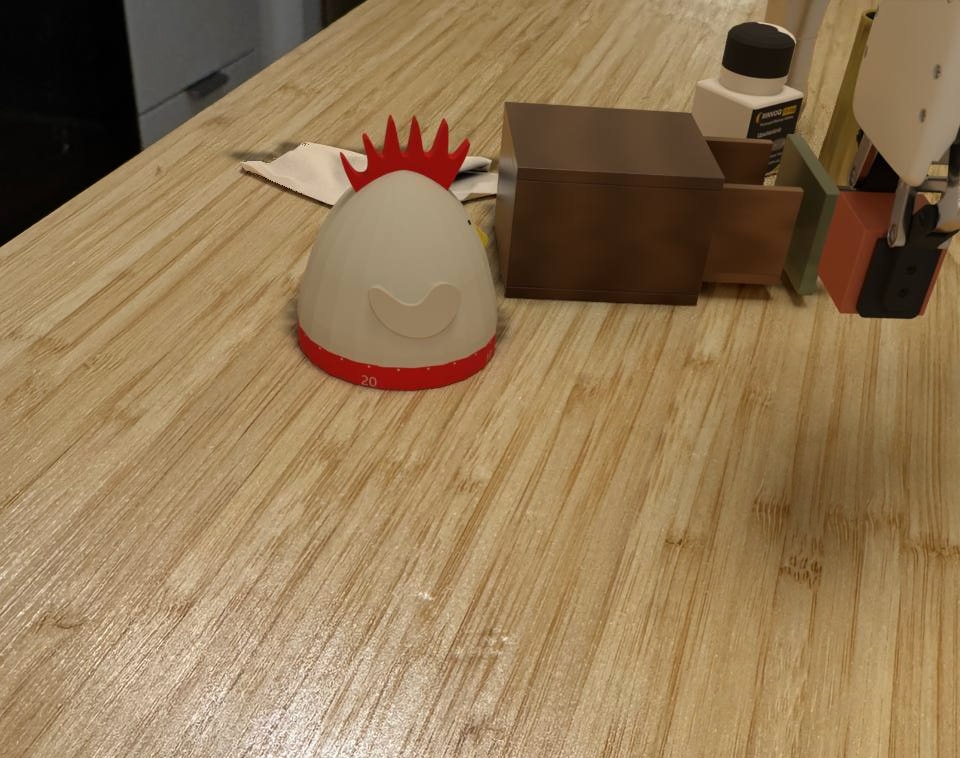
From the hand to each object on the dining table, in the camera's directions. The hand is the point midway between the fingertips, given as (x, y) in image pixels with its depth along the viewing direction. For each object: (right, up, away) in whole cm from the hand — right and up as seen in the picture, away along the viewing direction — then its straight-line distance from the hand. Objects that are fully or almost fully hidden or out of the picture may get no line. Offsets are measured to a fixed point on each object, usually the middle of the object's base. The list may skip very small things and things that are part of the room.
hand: (871, 287), depth 60 cm
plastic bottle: (+9, +34, +57) cm, 67 cm away
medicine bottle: (+3, +26, +49) cm, 56 cm away
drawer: (+2, +12, +32) cm, 34 cm away
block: (0, 0, 0) cm, 0 cm away
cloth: (-29, +21, +39) cm, 53 cm away
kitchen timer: (-26, +3, +21) cm, 34 cm away
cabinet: (-12, +12, +31) cm, 35 cm away
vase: (+14, +24, +47) cm, 55 cm away
